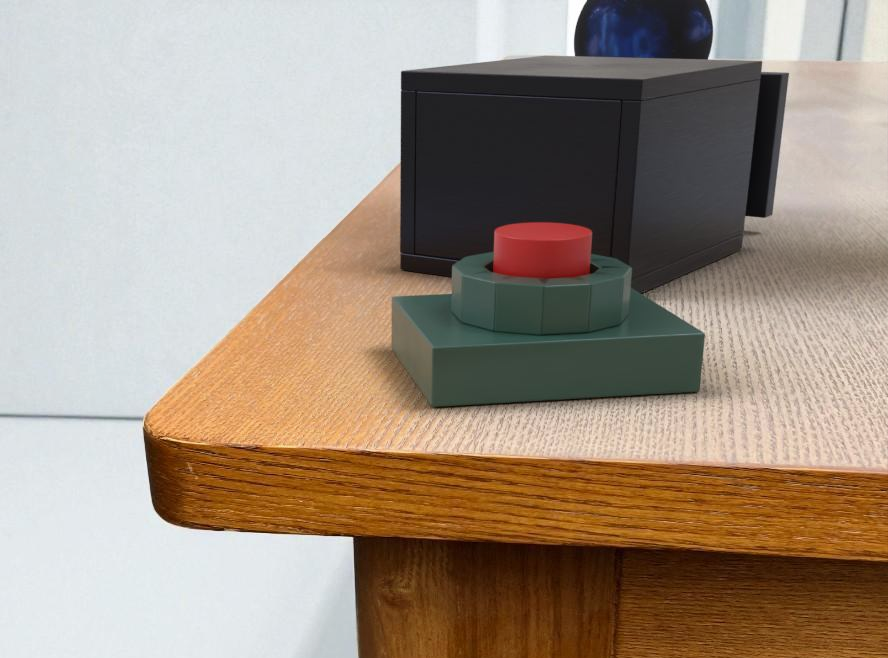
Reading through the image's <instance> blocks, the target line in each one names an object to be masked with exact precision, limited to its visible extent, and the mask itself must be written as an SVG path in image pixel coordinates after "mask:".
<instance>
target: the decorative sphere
mask: <svg viewBox="0 0 888 658" xmlns="http://www.w3.org/2000/svg"><path fill="white" fill-rule="evenodd" d="M713 23H714V22H713V17H712V13H711V10H710V7H709V5H708V2H707V0H586V1H585V3H584V5H583V6H582V9H581V10H580V13H579V15H578V17H577V21H576V24H575V29H574V33H573V35H574V36H573V53H574V56H583V57H624V58H664V59H704V60H709V57H710V54H711V50H712V47H713V46H712V45H713V39H714V24H713Z"/></svg>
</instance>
